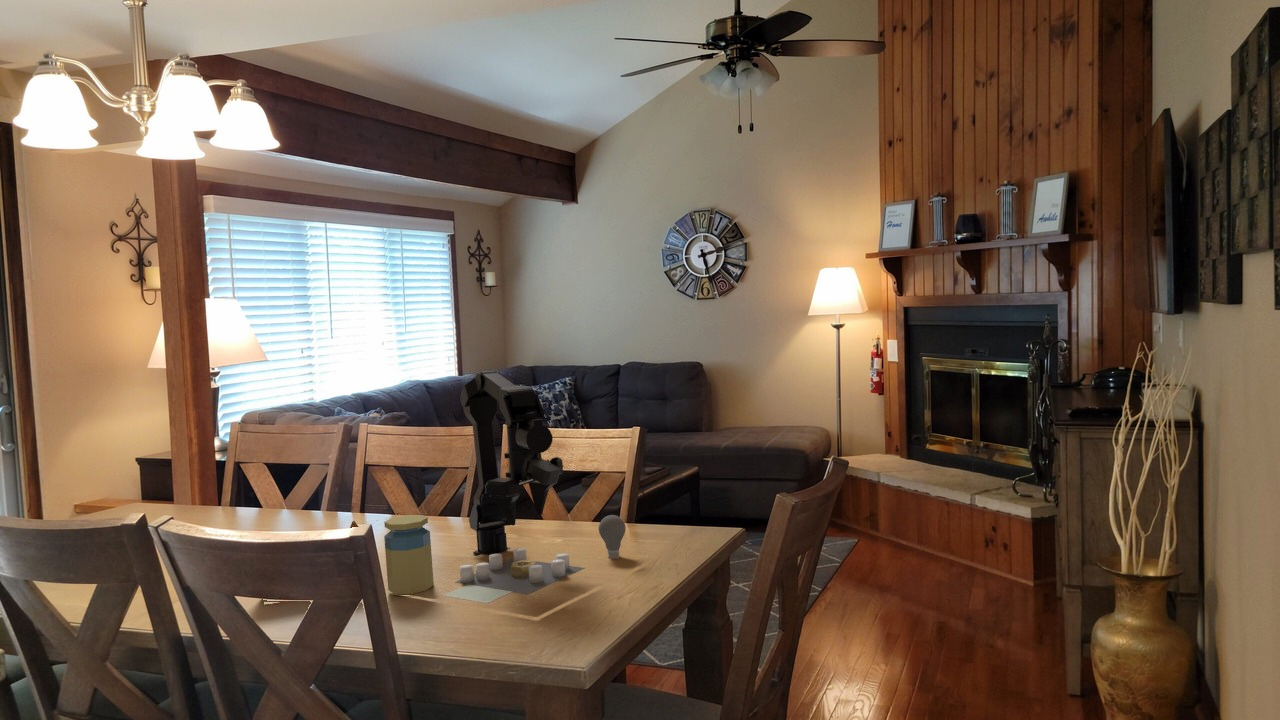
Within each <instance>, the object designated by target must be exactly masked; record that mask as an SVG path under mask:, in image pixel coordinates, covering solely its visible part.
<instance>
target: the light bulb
mask: <svg viewBox="0 0 1280 720" xmlns="http://www.w3.org/2000/svg"><path fill="white" fill-rule="evenodd" d="M626 529H627V528H626V524H625V522H624V520H623V519H622V518H621V517H620V516H618V515H615V514H610V515H606V516H604V517H603V518H602V519H601V521H600V522H599V525H598V533H599V536H600V537H601V539H602V540H603V542H604V544H605V548H606V549H607V555H608V556H607V559H611V560H615V559H619V558H620V548H621V542H622V540H623V538H624V536H625V533H626Z"/></svg>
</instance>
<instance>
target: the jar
mask: <svg viewBox="0 0 1280 720" xmlns="http://www.w3.org/2000/svg"><path fill="white" fill-rule="evenodd" d="M428 519H429V518H428V517H427V516H425V515H422V514H406V515H402V516H401V515H400V516H395V517H391V518H389V519H387V520H385V521H384V522H383V523H384V528H385V529H387V530H389V532H388V533H386V534H385V535H384V536H383V538H384V539H383V540H384V551H385V562H386V563H385V564H386V565H385V566H386V577H387V588H388V589H387V591H389V592H390V593H391V594H394V595H396V596H398V595H415V594H419V593H422V592H425V591H428V590H429V589H430V588H432V587H433V586H434V583H435V582H434V570H433V569H434V568H433V567H434V566H433V558H432V541H431V531H430V530H428V529H426V528H425V527H423V526H425V525H427V524H428V523H429V521H428Z"/></svg>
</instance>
